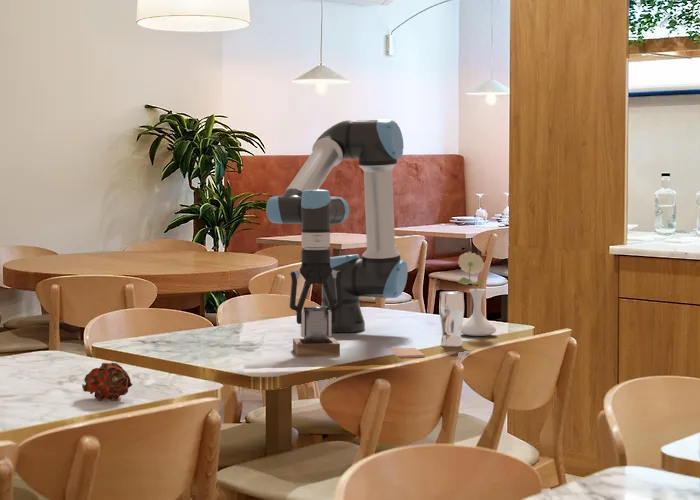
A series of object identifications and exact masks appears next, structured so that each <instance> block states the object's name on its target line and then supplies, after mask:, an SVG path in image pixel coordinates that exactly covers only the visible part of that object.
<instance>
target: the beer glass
mask: <svg viewBox="0 0 700 500" xmlns="http://www.w3.org/2000/svg"><path fill="white" fill-rule="evenodd" d="M464 297H465V296H464V292H463V291H453V290H451V291H447V290H446V291H440V292H439V306H438V308H439V310H438V311H439V318H440V324H441V325H440V326H441V339H440V340H441V341H440V346H441V347H446V348H459V347H462V346H463V339H462V333H461V327H462V323H464V321H463V320H464V315H465V299H464Z"/></svg>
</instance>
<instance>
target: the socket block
mask: <svg viewBox="0 0 700 500" xmlns="http://www.w3.org/2000/svg"><path fill="white" fill-rule="evenodd" d="M340 344H341V343H340V342H339V341H337V340H336V339H335V338H334V337H328V343H318V344H304V337H301V338H292V351H293V352H294V354H295V355H296V356H297V357H329V356H333V357H335V356H340V355H341V354H340V353H341V352H340V351H341V345H340Z"/></svg>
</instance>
